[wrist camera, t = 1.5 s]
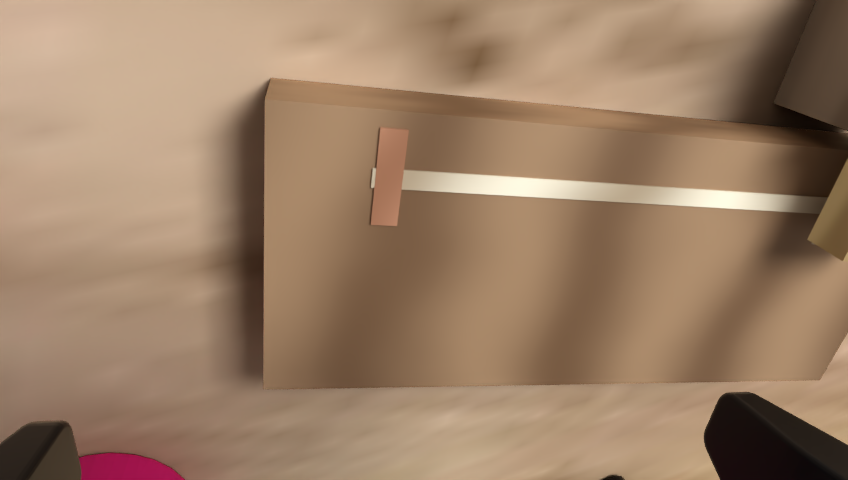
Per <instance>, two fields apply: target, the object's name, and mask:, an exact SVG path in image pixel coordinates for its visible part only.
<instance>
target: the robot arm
mask: <svg viewBox="0 0 848 480" xmlns="http://www.w3.org/2000/svg"><path fill="white" fill-rule="evenodd" d="M704 443H705V447H706V450H707V452H708V454H709V456H710V458H711V461H712V463H713V465H714V467H715V469H716V472H717V474H718V476H719V478H720V480H848V445H847V444H845V443H843V442H841V441H840V440H838V439H836V438H834V437H832V436H831V435H829V434H827V433H825V432H823V431H821V430H820V429H818V428H816V427H814V426H812V425H810V424H809V423H807V422H805V421H803V420H801V419H800V418H798V417H796V416H794V415H792V414H790V413H789V412H787V411H785V410H783V409H781V408H779V407H778V406H776V405H774V404H772V403H770V402H769V401H767V400H765V399H763V398H761V397H759V396H758V395H756V394H754V393H750V392H731V393H725V394H723V395H722V396H721V397H720V398H719V400H718V402H717V404H716V406H715V409H714V411H713V413H712V415H711V418H710V420H709V422H708V424H707V426H706V429H705V432H704ZM0 480H81V465H80V461H79V457H78V453H77V448H76V444H75V440H74V436H73V432H72V429H71V426H70V425H69V423H67V422H66V421H38V422H31V423H28V424H26V425H24V426H23V427H21V428H20V429H19V430H17V431H16V432H15V433H14V434H12V435H11V436H10V437H8V438H7V439H6V440H4V441H3V442H2V443H0ZM608 480H625V479H624V478H623V477H622V476H615V477H612V478H610V479H608Z"/></svg>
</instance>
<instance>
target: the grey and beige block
mask: <svg viewBox="0 0 848 480" xmlns="http://www.w3.org/2000/svg"><path fill="white" fill-rule="evenodd" d="M774 104H777V105H780V106H783V107H785V108H788V109H791V110H793V111H796V112H799V113H801V114H804V115H807V116H809V117H812V118H815V119H818V120H820V121H823V122H826V123H828V124H831V125H834V126H836V127H839V128H842V129H844V130H847V131H848V0H816V2H815V4H814V7H813V9H812V11H811V14H810V16H809V19H808V21H807V24H806V26H805V28H804V31H803V33H802V36H801V38H800V40H799V43H798V45H797V48H796V50H795V52H794V55H793V57H792V60H791V62H790V64H789V67H788V69H787V72H786V74H785V76H784V79H783V81H782V84H781V86H780V88H779V91H778V93H777V96H776V98H775V100H774ZM807 240H809V241H811V242H812V243H814V244H816V245H817V246H819V247H820V248H822V249H824V250H825V251H827V252H828V253H830V254H832V255H833V256H835V257H836V258H838V259H840V260H841V261H845V262H848V159H847V161H846V163H845V165H844V167H843V169H842V171H841V173H840V175H839V177H838V179H837V181H836V183H835V185H834V187H833V189H832V191H831V193H830V195H829V197H828V199H827V201H826V203H825V205H824V207H823V209H822V211H821V213H820V215H819V217H818V219H817V221H816V223H815V225H814V227H813V229H812V231H811V233H810V235H809V237H808V239H807Z"/></svg>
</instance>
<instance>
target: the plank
mask: <svg viewBox="0 0 848 480" xmlns="http://www.w3.org/2000/svg"><path fill="white" fill-rule="evenodd" d="M847 159H848V133H840V132H830V131H819V130H809V129H799V128H788V127H778V126H767V125H757V124H746V123H736V122H725V121H715V120H705V119H694V118H684V117H673V116H663V115H652V114H642V113H631V112H621V111H611V110H600V109H590V108H579V107H569V106H558V105H548V104H538V103H527V102H517V101H506V100H496V99H485V98H475V97H464V96H454V95H444V94H433V93H423V92H412V91H402V90H391V89H381V88H370V87H360V86H350V85H339V84H329V83H318V82H308V81H297V80H287V79H276V78H271V80H270V83H269V86H268V90H267V93H266V97H265V150H264V334H263V389H320V388H380V387H440V386H500V385H560V384H620V383H679V382H739V381H799V380H820V379H821V377H822V375H823V374H824V372H825V370H826V369H827V367H828V365H829V363H830V362H831V360H832V358H833V357H834V355H835V353H836V352H837V350H838V348H839V346H840V345H841V343H842V341H843V340H844V338H845V336H846V334H847V333H848V262H845V261H841V260H840V259H838V258H836V257H835V256H833V255H832V254H830V253H828V252H827V251H825V250H824V249H822V248H820V247H819V246H817V245H816V244H814V243H812V242H811V241H809V240H807V239H808V237H809V235H810V233H811V231H812V229H813V227H814V225H815V223H816V221H817V219H818V217H819V215H820V213H821V211H822V209H823V207H824V205H825V203H826V201H827V199H828V197H829V195H830V193H831V191H832V189H833V187H834V185H835V183H836V181H837V179H838V177H839V175H840V173H841V171H842V169H843V167H844V165H845V163H846V161H847Z"/></svg>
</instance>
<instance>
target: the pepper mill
mask: <svg viewBox="0 0 848 480" xmlns="http://www.w3.org/2000/svg"><path fill="white" fill-rule="evenodd" d="M79 461H80V465H81V480H185V479H184V478H182V477H181V476H180V475H179V474H178V473H177V472H175V471H174V470H173V469H172V468H170V467H168V466H166V465H164V464H162V463H160V462H158V461H156V460H154V459H150V458H146V457H142V456H138V455H134V454H123V453H104V454H95V455H86V456H83V457H80V458H79Z"/></svg>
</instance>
